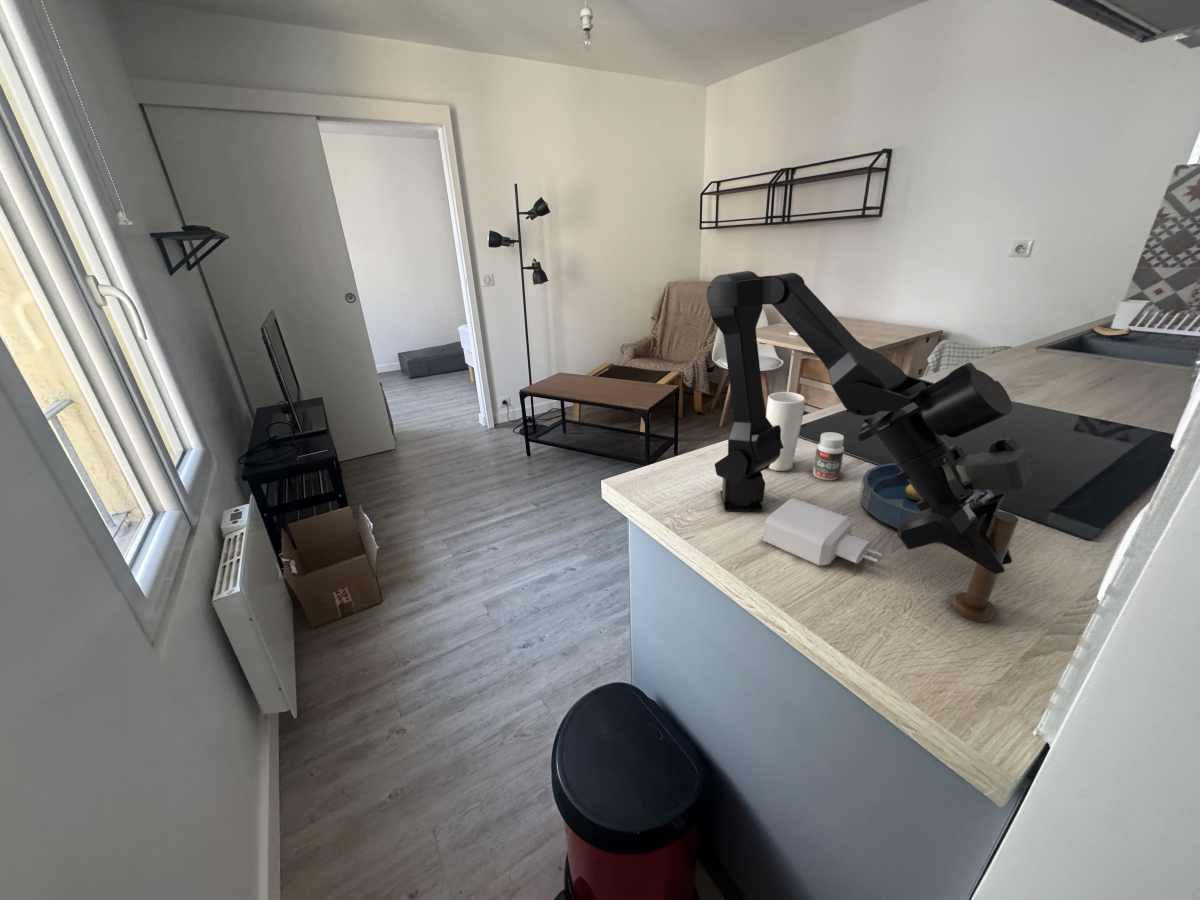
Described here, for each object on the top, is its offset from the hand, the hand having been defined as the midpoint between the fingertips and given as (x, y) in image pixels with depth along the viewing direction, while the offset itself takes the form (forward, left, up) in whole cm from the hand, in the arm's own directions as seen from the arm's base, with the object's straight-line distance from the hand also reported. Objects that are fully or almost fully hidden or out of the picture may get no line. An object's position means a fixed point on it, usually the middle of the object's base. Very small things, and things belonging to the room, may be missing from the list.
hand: (1003, 567), depth 54 cm
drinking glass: (-15, +41, -8) cm, 44 cm away
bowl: (+4, +24, -8) cm, 25 cm away
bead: (+4, +27, -5) cm, 27 cm away
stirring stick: (-1, +1, -8) cm, 8 cm away
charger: (-15, +13, -8) cm, 21 cm away
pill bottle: (-7, +37, -8) cm, 38 cm away
